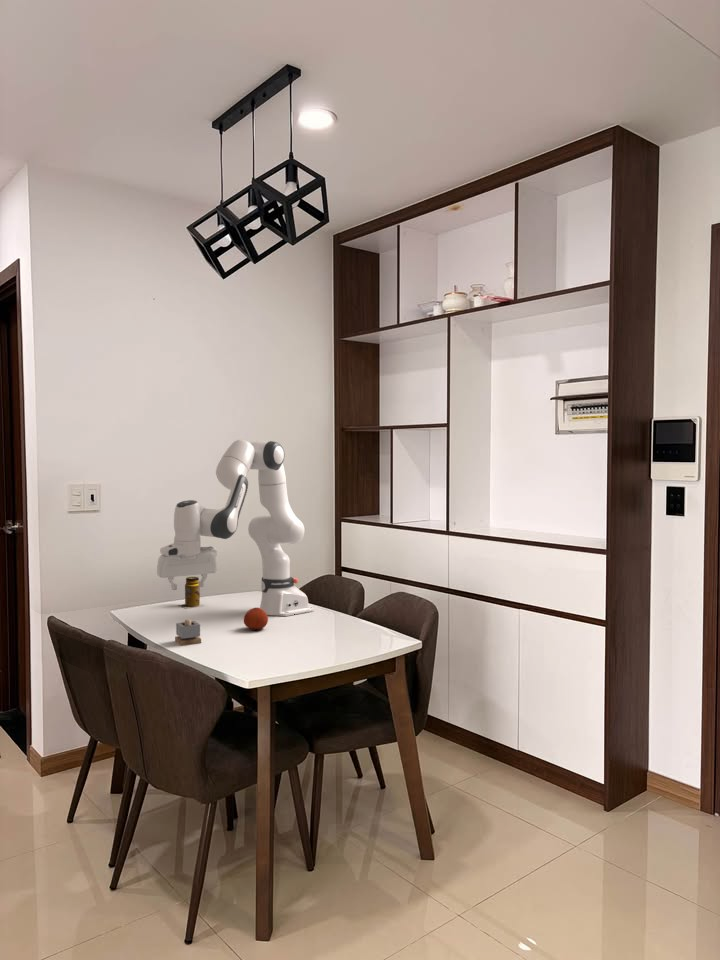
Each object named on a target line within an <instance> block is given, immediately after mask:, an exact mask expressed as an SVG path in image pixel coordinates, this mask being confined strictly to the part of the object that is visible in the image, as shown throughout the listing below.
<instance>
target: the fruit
mask: <svg viewBox="0 0 720 960" xmlns="http://www.w3.org/2000/svg"><path fill="white" fill-rule="evenodd" d="M268 621H269V615H267V614H266V612H265V611H263V610H262V609H260V607H253V608H250V609H249V610H247V612H245V614H244V616H243V624H244V625H245V627H246V628H248V629H250V630H262V629H264V628H265V627H266V626H267V625H268Z"/></svg>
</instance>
